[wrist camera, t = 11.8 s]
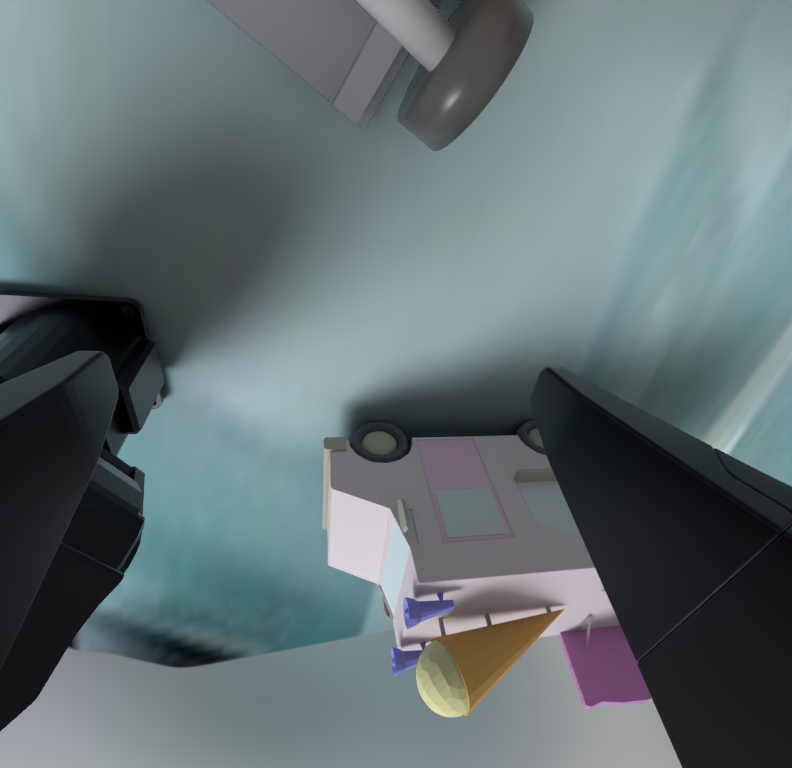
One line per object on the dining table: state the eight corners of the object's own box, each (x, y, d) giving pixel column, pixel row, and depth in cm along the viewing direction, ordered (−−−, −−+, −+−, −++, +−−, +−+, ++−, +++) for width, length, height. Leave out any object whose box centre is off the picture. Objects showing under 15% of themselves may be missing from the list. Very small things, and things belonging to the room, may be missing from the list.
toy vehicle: (323, 407, 26) (329, 692, 14) (602, 406, 30) (793, 630, 18) (321, 502, 31) (324, 766, 19) (558, 491, 35) (681, 707, 23)
